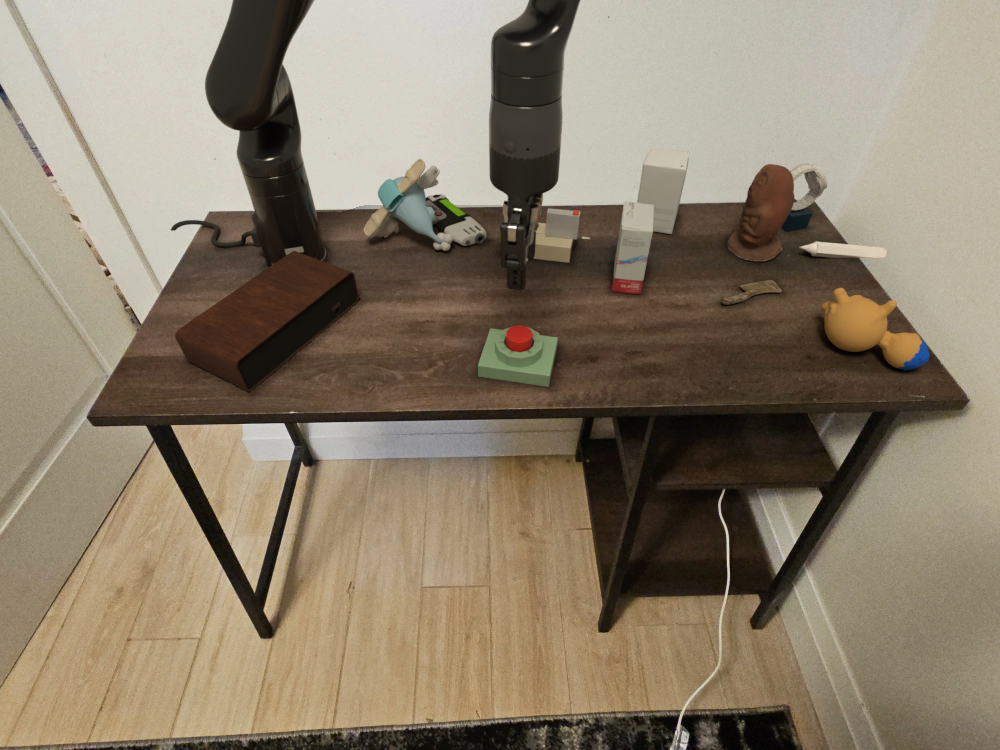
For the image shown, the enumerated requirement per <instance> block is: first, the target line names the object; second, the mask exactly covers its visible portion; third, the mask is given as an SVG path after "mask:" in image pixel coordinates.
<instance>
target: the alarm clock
mask: <svg viewBox="0 0 1000 750" xmlns="http://www.w3.org/2000/svg"><path fill="white" fill-rule="evenodd" d="M359 300H360V293H359V289H358V285H357V280H356V275H355V273H354V272H352V271H350V270H347V269H345V268H341V267H339V266H336V265H334V264H331V263H328V262H327V261H325V262H323V261H320V260H318V259H315V258H312V257H310V256H307V255H304V254H302V253H299V252H296V251H292V252H291V253H289V254H288V255H286V256H285V257H283V258H282V259H280V260H279V261H278V262H276V263H275V264H273V265H272V266H268V267H267V268H266V269H265V270H263V271H262V272H260V273H258V274H257V275H256V276H254V277H252V278H251V279H250V280H248V281H246V282H245V283H244V284H243V285H240V286H239V287H238V288H236V289H235V290H233V291H232V292H231V293H229V294H227V295H226V296H225V297H223V298H222V299H220V300H219V301H218V302H216V303H215V304H213V305H211V306H210V307H209V308H207V309H206V310H204V311H203V312H202V313H200V314H198V315H197V316H196V317H194V318H193V319H191V320H190V321H188V322H187V323H185V324H184V325H182V326H181V327H180V328H178V329H177V330H176V331H175V333H174V337H175V340H176V342H177V344H178V346H179V348H180V350H181V351H182V353H183V356H184V357H185V359H186V361H187V362H189V363H191V364H193V365H194V366H197V367H199V368H201V369H202V370H205V371H207V372H209V373H211V374H213V375H214V376H216V377H219V378H221V379H223V380H224V381H227V382H229V383H231V384H233V385H235V386H237V387H239V388H240V389H242V390H245V391H246V392H252V391H254V390H255V389H256V388H258V387H260V385H262V383H264V382H265V381H266V380H267V379H268V378H270V377H271V376H272V375H273V374H274V373H275V372H277V371H278V370H279V369H280V368H281V367H283V366H284V365H285V364H286V363H288V362H289V361H290V360H291V359H292V358H294V357H295V356H296V355H297V354H298V353H300V351H302V350H303V349H305V347H306V346H308V345H309V344H310V343H311V342H312V341H313V340H315V339H316V338H317V337H319V336H320V335H321V334H322V333H323V332H324V331H325V330H326V329H328V328H329V327H330V326H331V325H333V324H334V323H336V321H338V320H339V319H340V318H341V317H342V316H344V315H345V314H346V313H347V312H348V311H350V310H351V309H352V308H353V307H354V306H355V305H357V304H358V302H359Z"/></svg>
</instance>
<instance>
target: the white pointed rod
mask: <svg viewBox="0 0 1000 750" xmlns="http://www.w3.org/2000/svg"><path fill="white" fill-rule="evenodd" d="M799 248H800V249H802V250H804V251H806V252H807V253H809V254H810V255H811V256H812V257H821V258H822V257H823V258H831V259H879V258H880V259H881V258H886V257H887V253H888V251H887V250H886V249H885V248H884V247H882V246H881V247H880V246H868V245H859V244H858V245H857V244H848V243H835V242H825V241H817V240H815V241H814V242H812V243H808V244H805V245H801V246H799Z"/></svg>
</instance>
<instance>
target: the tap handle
mask: <svg viewBox="0 0 1000 750" xmlns="http://www.w3.org/2000/svg"><path fill="white" fill-rule="evenodd" d="M545 221H546V222H545V223H546V235H545V236H549V237H558V238H568V239H574V240H578V238H579V230H580V221H581V211H580V209H579V210H578V209H573V210H569V209H560V208H551V207H548V208H547V211H546V220H545Z"/></svg>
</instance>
